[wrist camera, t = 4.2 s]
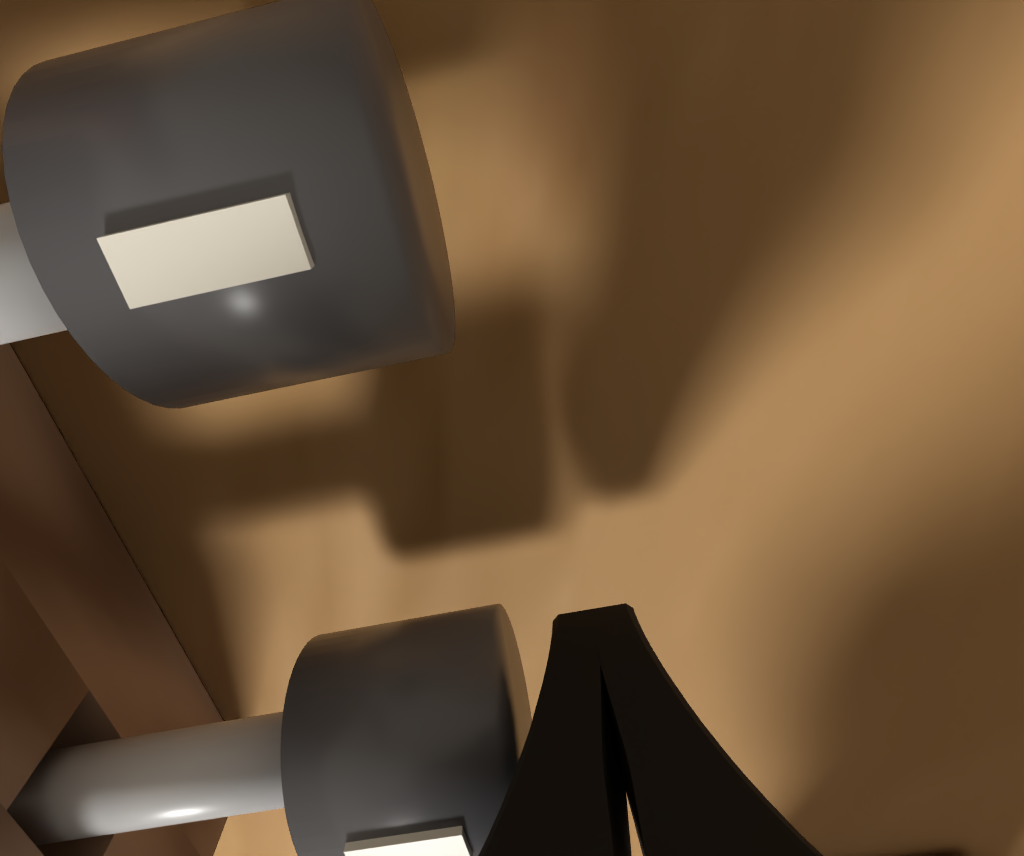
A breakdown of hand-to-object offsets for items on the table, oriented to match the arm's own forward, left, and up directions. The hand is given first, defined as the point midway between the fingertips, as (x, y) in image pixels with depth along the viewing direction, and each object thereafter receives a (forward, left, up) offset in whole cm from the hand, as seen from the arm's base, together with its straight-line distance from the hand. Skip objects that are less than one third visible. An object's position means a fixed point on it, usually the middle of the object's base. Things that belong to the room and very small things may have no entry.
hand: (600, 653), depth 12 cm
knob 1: (+8, +5, -1) cm, 10 cm away
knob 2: (0, +6, -1) cm, 6 cm away
